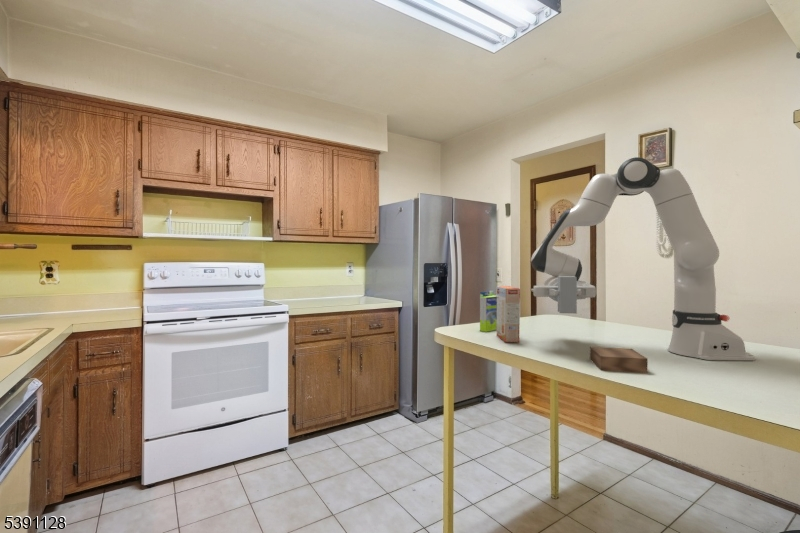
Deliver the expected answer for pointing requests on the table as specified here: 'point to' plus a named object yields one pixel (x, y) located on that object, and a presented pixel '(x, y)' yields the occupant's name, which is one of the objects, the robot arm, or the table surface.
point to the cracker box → (508, 313)
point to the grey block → (567, 294)
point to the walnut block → (618, 359)
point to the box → (488, 311)
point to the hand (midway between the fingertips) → (567, 293)
